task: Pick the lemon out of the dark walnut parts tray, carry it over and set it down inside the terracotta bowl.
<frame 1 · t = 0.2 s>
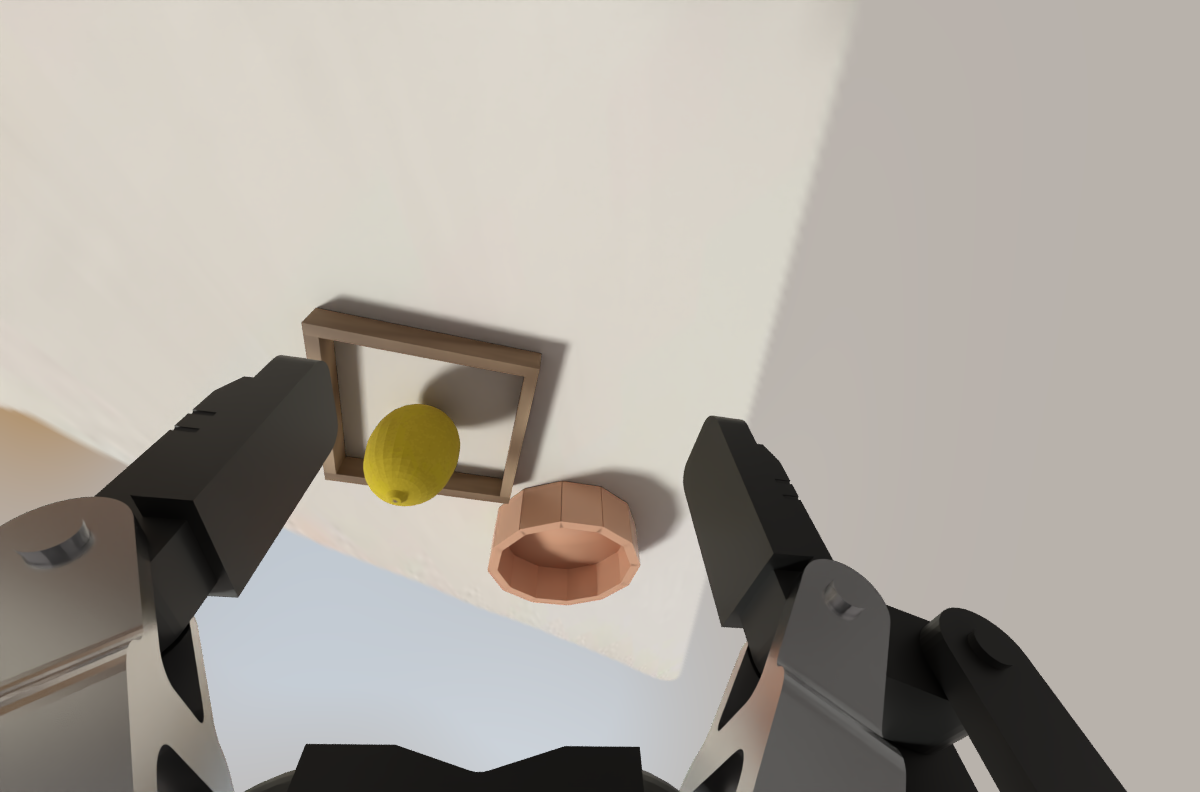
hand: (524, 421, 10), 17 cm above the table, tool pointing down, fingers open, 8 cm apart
bowl: (565, 527, 41), on the table
lemon: (430, 410, 32), resting in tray
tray: (429, 412, 32), on the table
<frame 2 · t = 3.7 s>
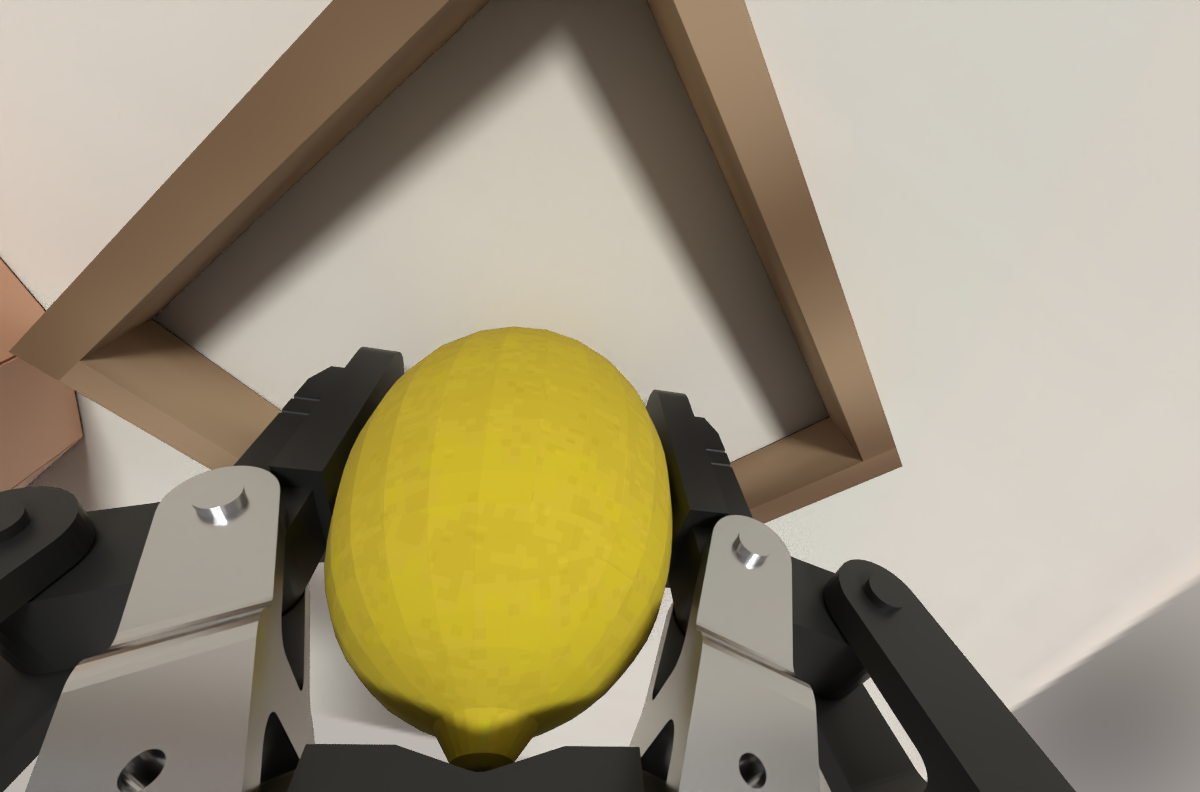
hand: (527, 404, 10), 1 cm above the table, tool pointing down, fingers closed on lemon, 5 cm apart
lemon: (532, 369, 11), resting in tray, touching gripper
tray: (531, 373, 11), on the table
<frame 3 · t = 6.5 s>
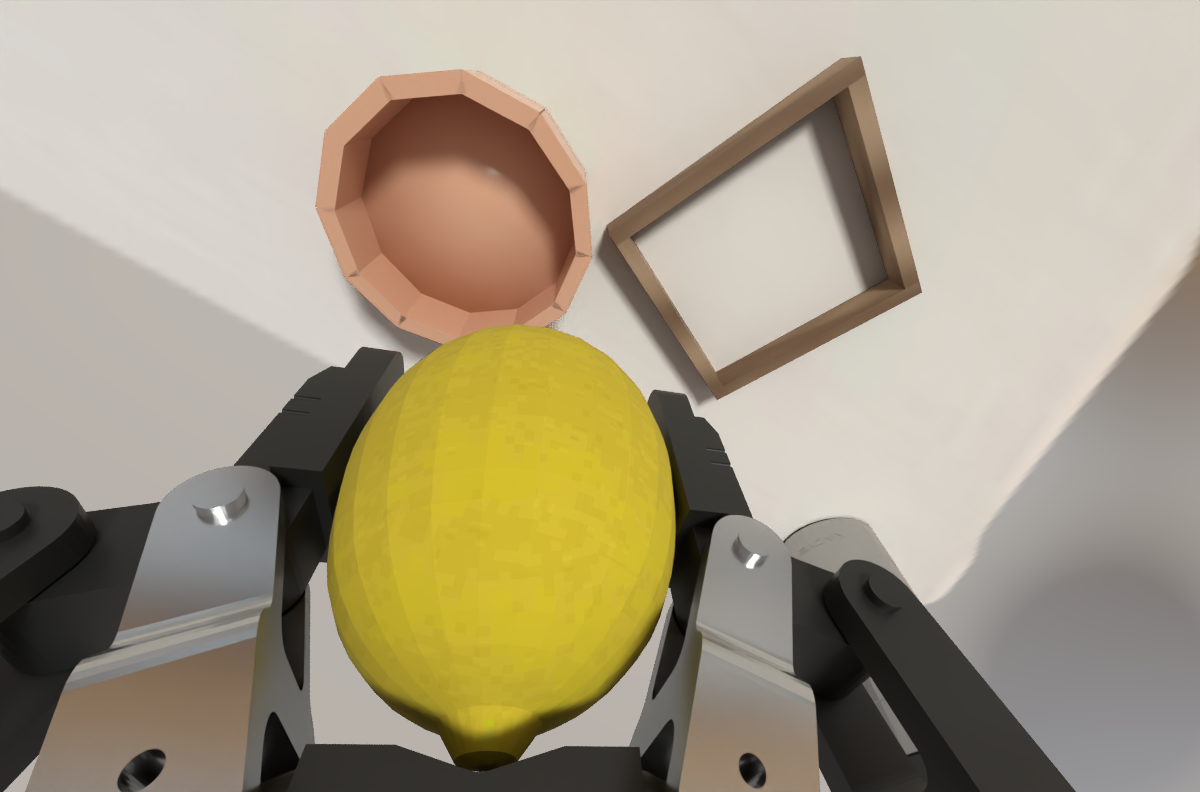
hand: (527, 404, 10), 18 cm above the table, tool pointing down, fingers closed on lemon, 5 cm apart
bowl: (475, 213, 25), on the table
lemon: (534, 367, 11), point 17 cm above the table, touching gripper
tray: (763, 254, 27), on the table
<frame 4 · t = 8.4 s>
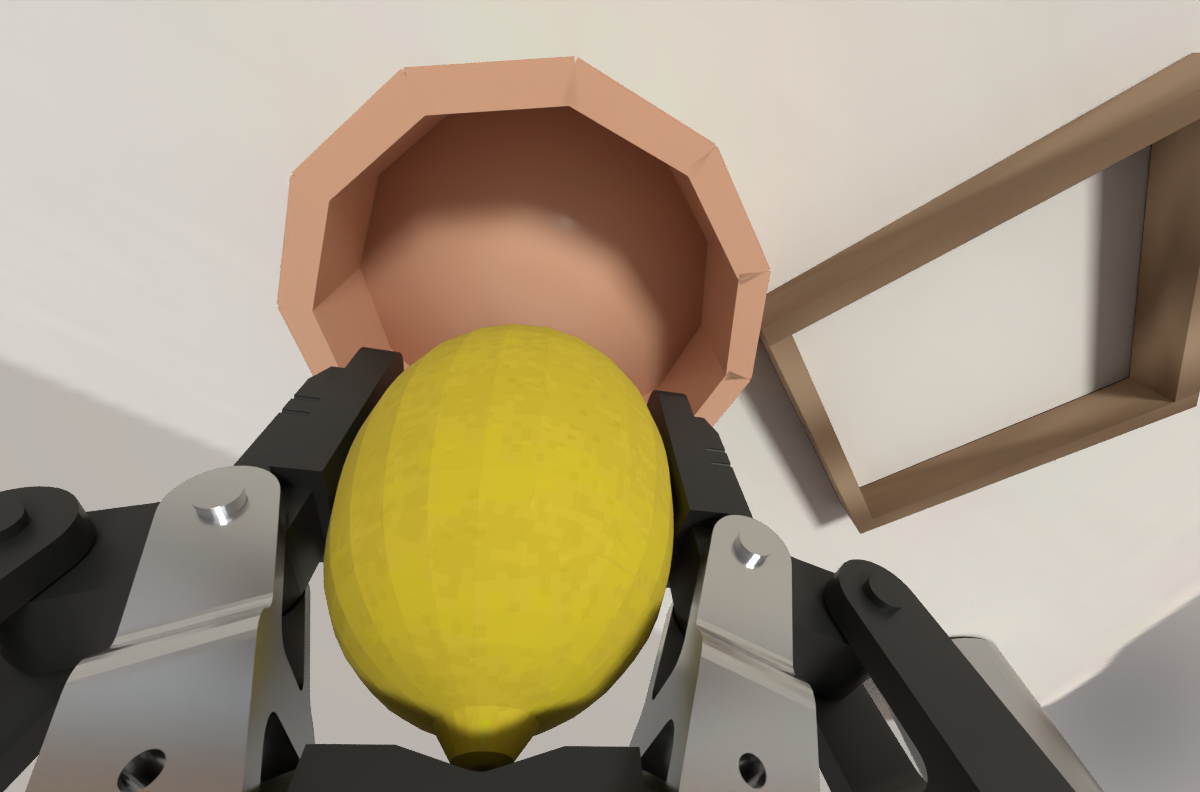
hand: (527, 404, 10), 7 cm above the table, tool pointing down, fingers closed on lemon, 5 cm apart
bowl: (542, 289, 16), on the table
lemon: (532, 367, 11), point 5 cm above the table, touching gripper
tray: (964, 347, 18), on the table
when the fingers open (4 cm above the table, at t = 9.8 s): lemon drops 2 cm, resting on bowl.
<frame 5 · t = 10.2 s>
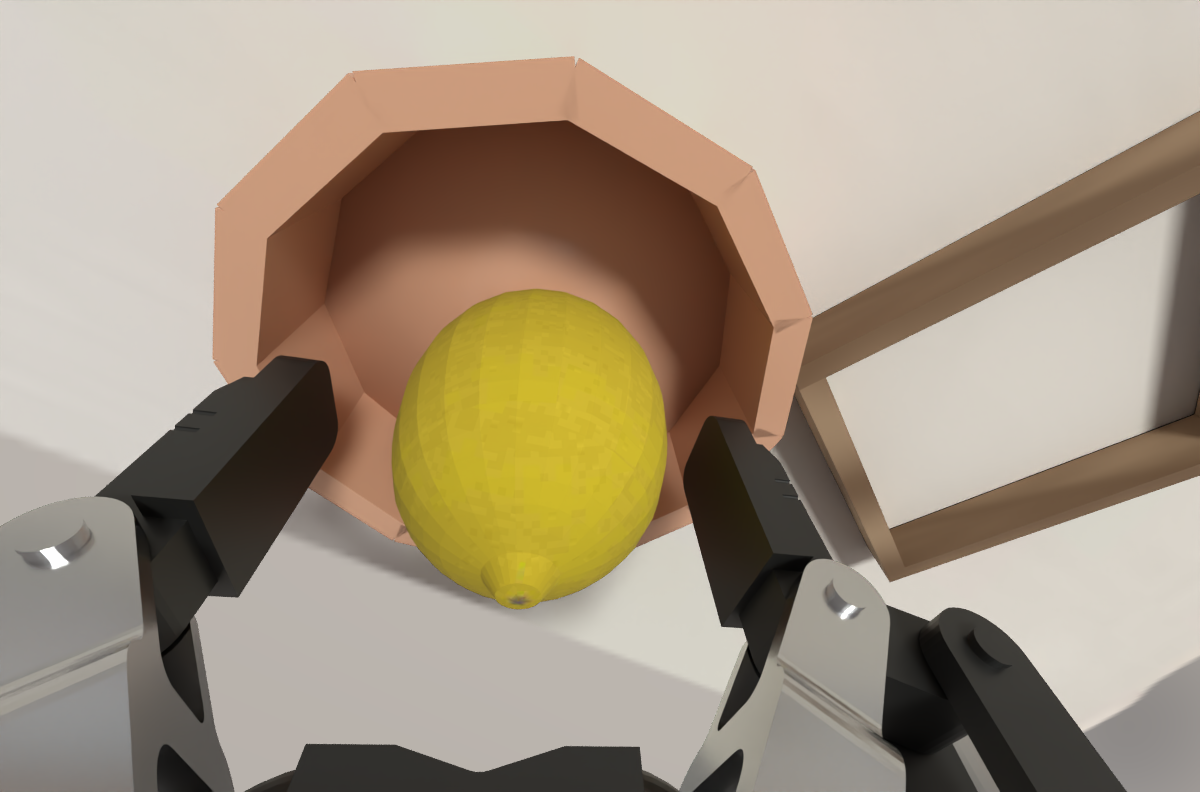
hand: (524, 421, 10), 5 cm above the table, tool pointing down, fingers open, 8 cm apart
bowl: (537, 324, 14), on the table
lemon: (548, 336, 13), point 1 cm above the table, touching bowl
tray: (1014, 383, 16), on the table
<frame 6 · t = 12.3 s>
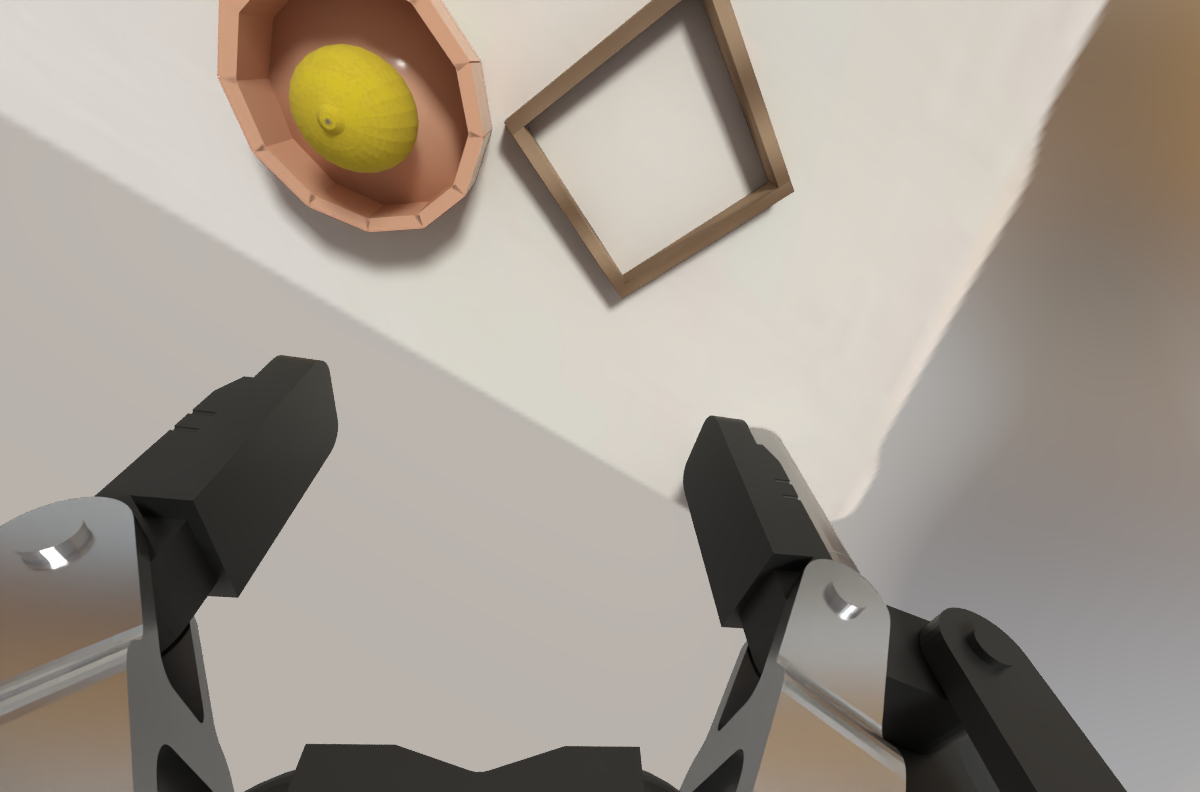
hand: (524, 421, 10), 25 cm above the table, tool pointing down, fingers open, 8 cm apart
bowl: (381, 102, 27), on the table
lemon: (384, 105, 26), point 1 cm above the table, touching bowl
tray: (653, 154, 30), on the table
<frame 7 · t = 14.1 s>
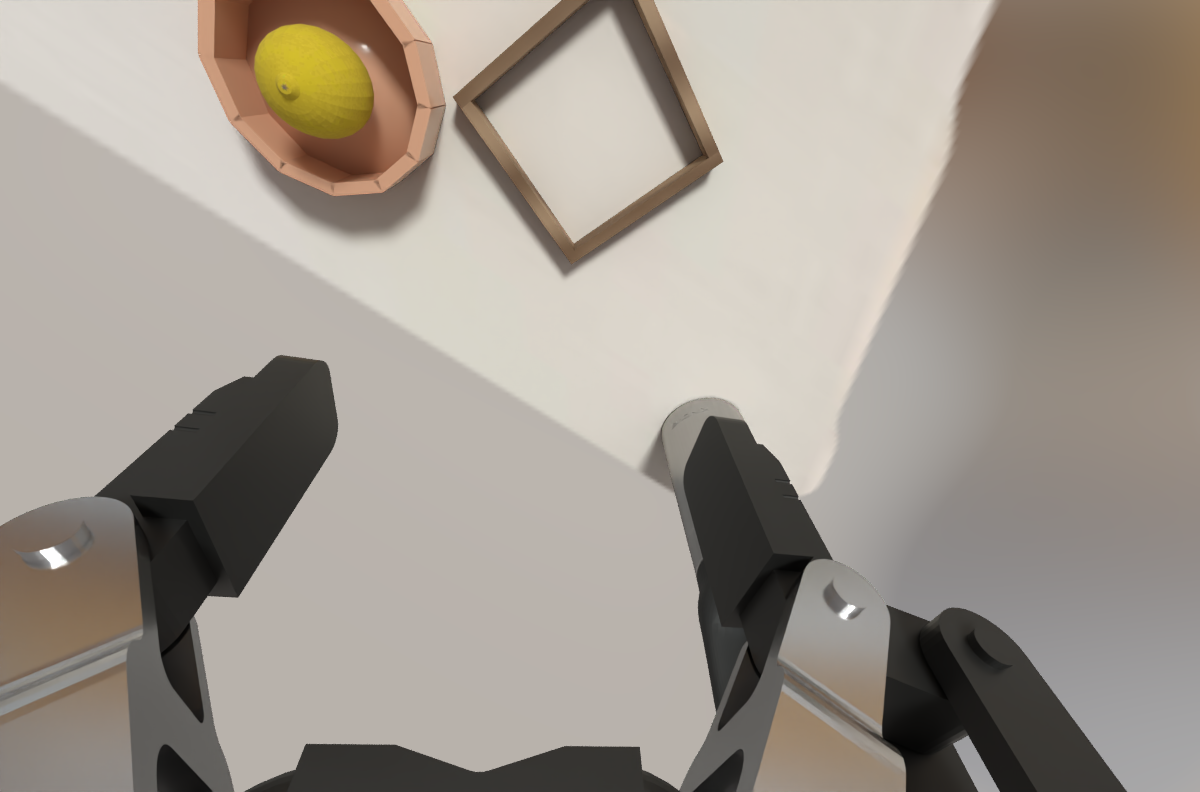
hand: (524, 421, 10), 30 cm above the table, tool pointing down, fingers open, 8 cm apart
bowl: (346, 81, 30), on the table
lemon: (348, 83, 30), point 1 cm above the table, touching bowl
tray: (593, 128, 32), on the table
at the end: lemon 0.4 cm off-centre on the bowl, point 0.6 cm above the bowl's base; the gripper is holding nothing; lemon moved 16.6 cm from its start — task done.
